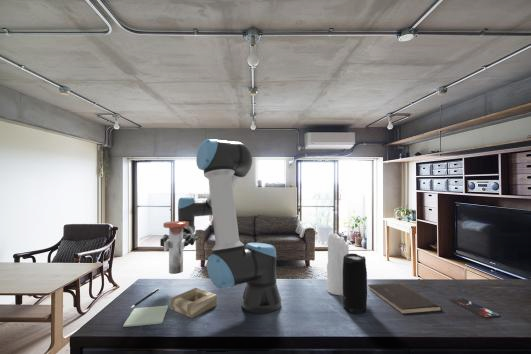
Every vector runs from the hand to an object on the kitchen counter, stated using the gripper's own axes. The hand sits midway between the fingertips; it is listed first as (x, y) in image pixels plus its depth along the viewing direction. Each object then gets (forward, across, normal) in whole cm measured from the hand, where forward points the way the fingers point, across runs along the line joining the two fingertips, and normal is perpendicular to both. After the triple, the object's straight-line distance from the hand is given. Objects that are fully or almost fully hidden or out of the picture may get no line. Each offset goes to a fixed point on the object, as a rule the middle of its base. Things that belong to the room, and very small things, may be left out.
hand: (173, 246), depth 95 cm
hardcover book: (+1, -89, -25) cm, 92 cm away
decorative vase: (-11, -67, -24) cm, 72 cm away
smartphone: (+12, -110, -24) cm, 113 cm away
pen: (-17, +14, -25) cm, 33 cm away
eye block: (-6, -7, -24) cm, 26 cm away
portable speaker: (+6, -66, -24) cm, 70 cm away
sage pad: (-1, +9, -24) cm, 26 cm away
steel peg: (-5, 0, -10) cm, 12 cm away
